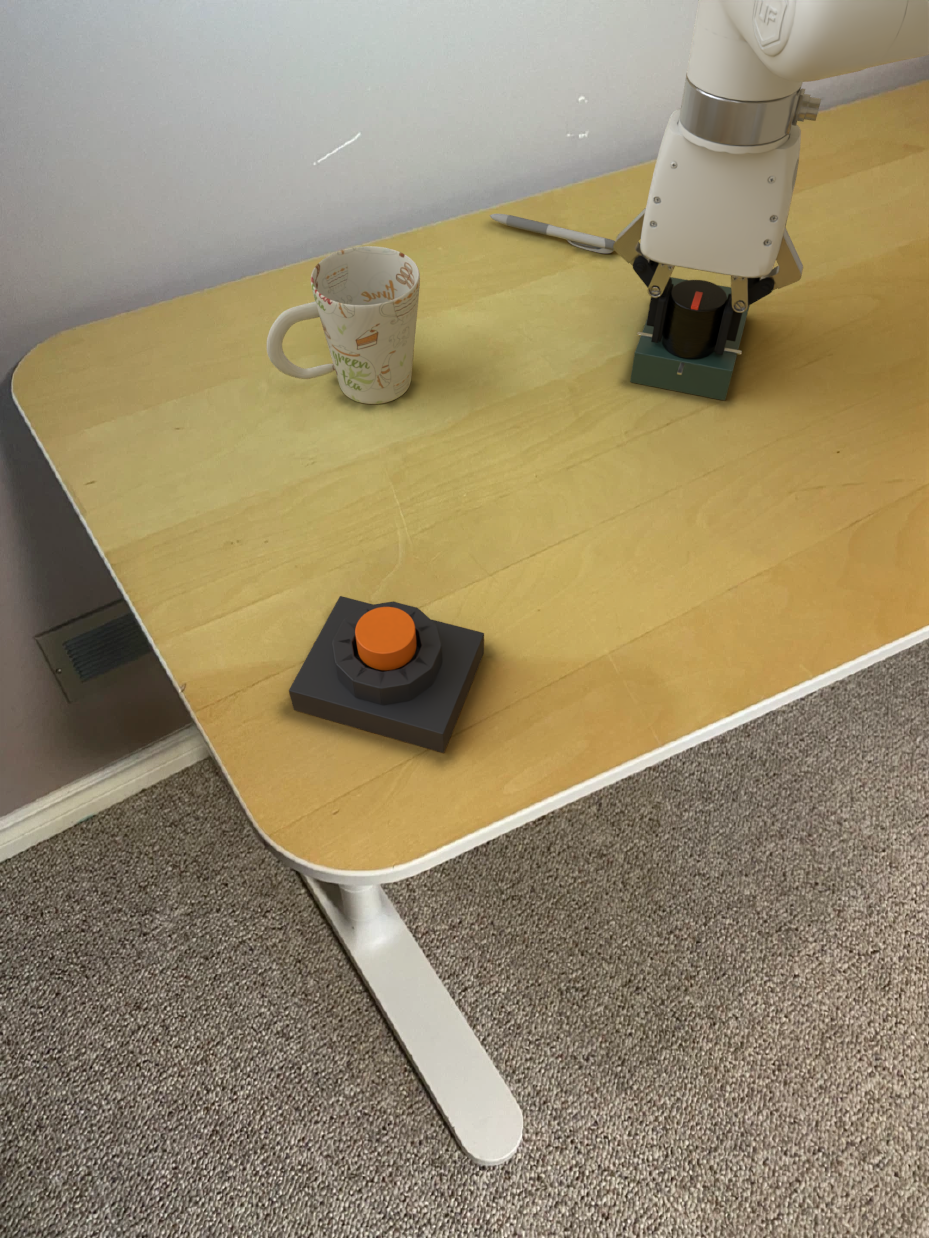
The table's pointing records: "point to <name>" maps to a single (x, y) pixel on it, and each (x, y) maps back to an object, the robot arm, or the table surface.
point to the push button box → (390, 678)
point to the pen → (558, 233)
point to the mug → (359, 322)
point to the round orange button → (386, 638)
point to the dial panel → (685, 364)
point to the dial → (693, 319)
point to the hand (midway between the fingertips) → (690, 337)
